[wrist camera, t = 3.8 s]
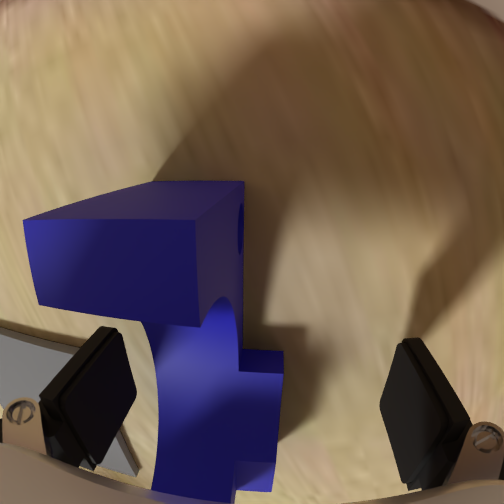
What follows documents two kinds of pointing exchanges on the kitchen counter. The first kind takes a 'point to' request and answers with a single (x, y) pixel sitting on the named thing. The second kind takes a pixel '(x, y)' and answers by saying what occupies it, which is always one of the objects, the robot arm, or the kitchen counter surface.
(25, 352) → the mat
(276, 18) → the kitchen counter surface
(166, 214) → the blue angular piece
